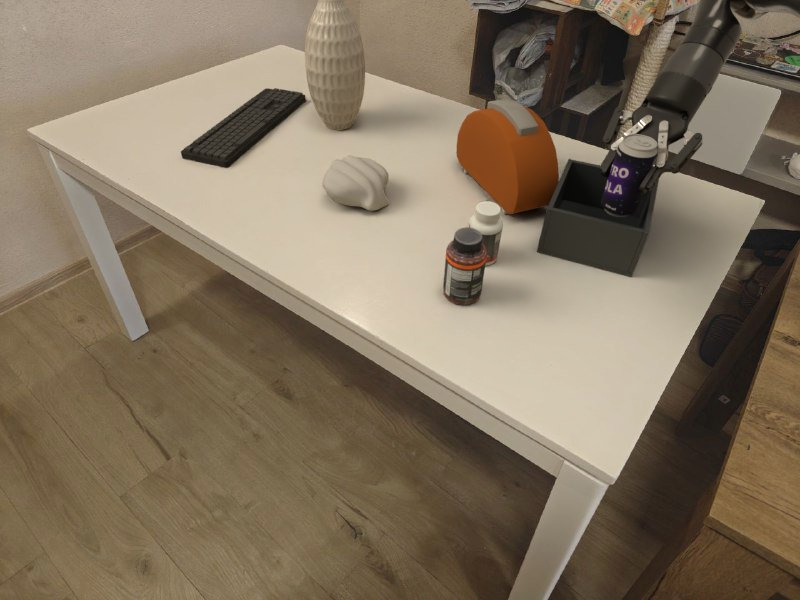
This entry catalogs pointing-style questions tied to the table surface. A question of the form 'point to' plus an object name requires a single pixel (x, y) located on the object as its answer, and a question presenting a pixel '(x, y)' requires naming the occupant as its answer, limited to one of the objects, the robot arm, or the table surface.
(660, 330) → the table surface
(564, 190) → the open storage box
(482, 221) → the pill bottle
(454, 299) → the supplement bottle
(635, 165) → the beverage can
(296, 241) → the table surface
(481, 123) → the alarm clock
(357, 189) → the shell shaped sculpture
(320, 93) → the vase
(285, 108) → the keyboard
